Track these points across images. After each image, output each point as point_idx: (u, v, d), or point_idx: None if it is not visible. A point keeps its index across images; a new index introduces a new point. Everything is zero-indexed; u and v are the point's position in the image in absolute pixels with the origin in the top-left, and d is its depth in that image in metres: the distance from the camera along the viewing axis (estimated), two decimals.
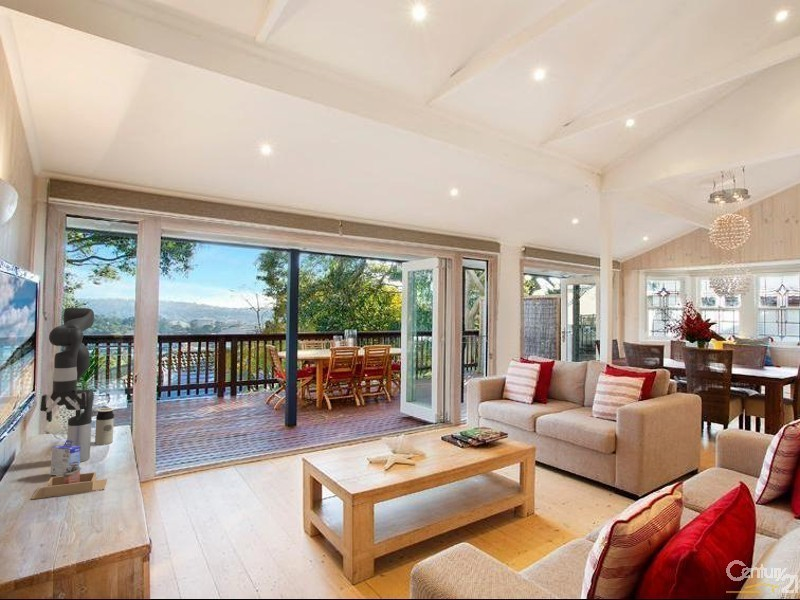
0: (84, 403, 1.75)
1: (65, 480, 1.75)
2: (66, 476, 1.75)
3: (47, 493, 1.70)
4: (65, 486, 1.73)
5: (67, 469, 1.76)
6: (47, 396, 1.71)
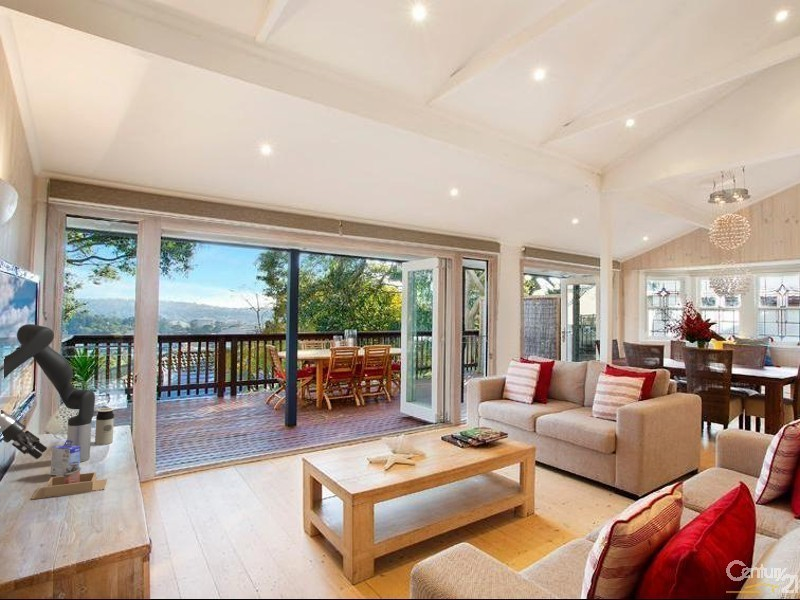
0: None
1: (65, 480, 1.75)
2: (66, 476, 1.75)
3: (47, 493, 1.70)
4: (65, 486, 1.73)
5: (67, 469, 1.76)
6: None
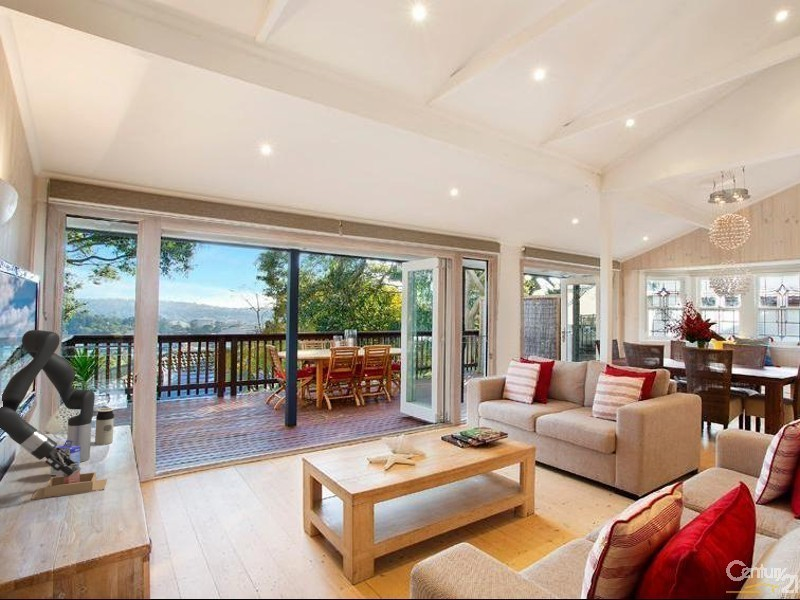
0: None
1: (65, 480, 1.75)
2: (66, 476, 1.75)
3: (47, 493, 1.70)
4: (65, 486, 1.73)
5: None
6: None
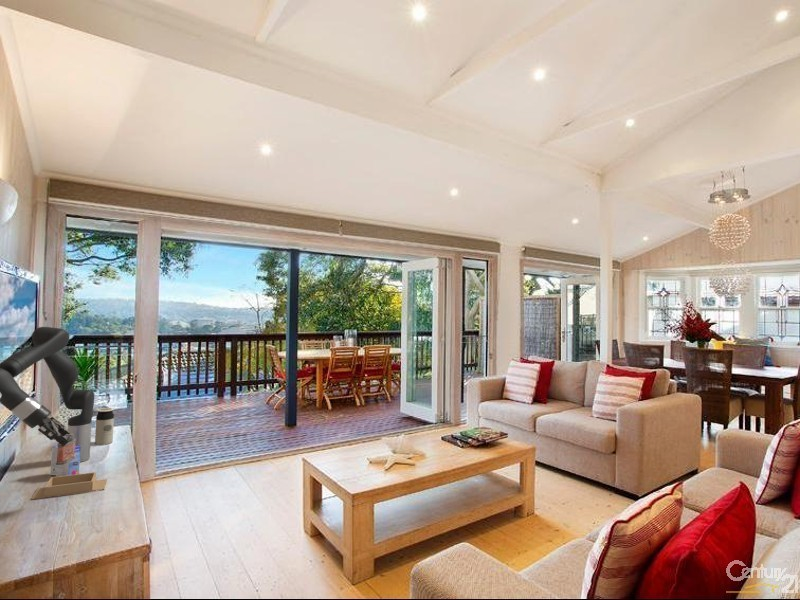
0: None
1: (59, 450, 1.63)
2: (60, 446, 1.63)
3: (47, 493, 1.70)
4: (65, 486, 1.73)
5: None
6: None
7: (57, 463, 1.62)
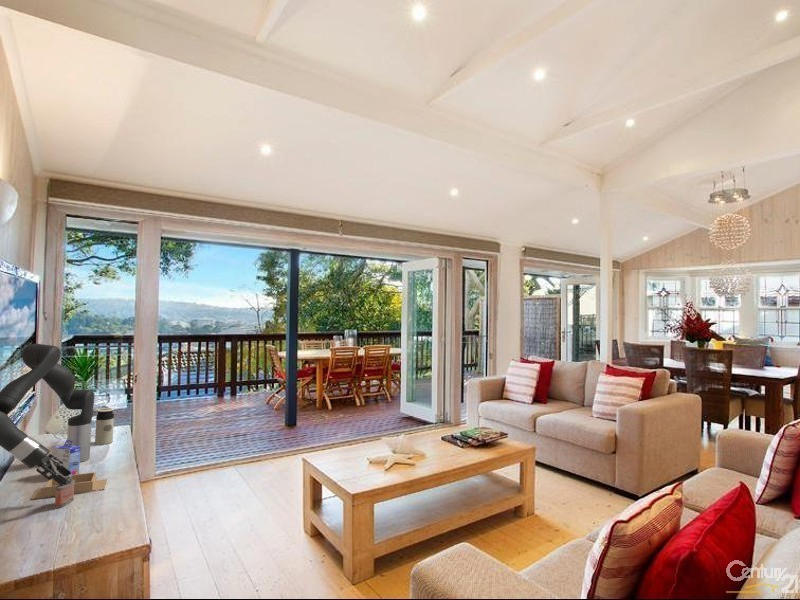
0: None
1: (57, 494, 1.62)
2: (58, 490, 1.62)
3: (47, 493, 1.70)
4: None
5: None
6: None
7: (55, 507, 1.62)
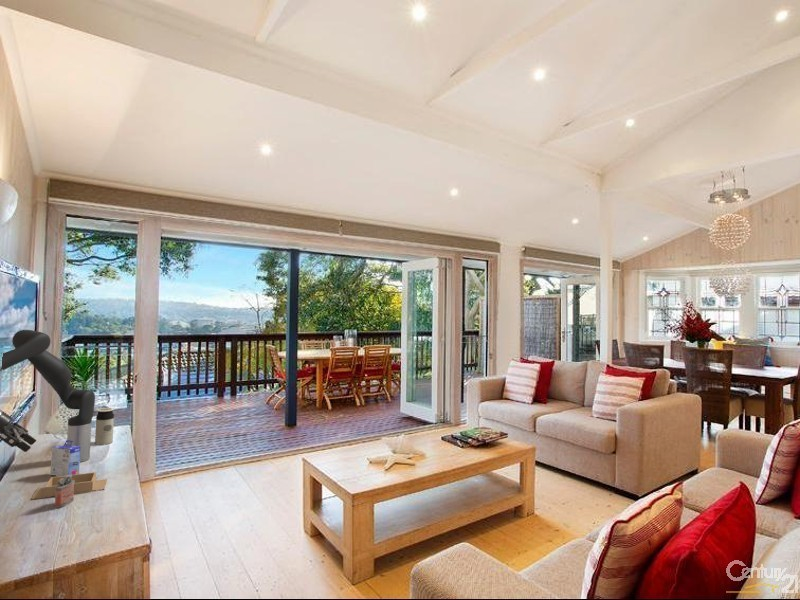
0: None
1: (57, 494, 1.62)
2: (57, 490, 1.62)
3: (47, 493, 1.70)
4: None
5: (59, 482, 1.63)
6: None
7: (55, 507, 1.62)
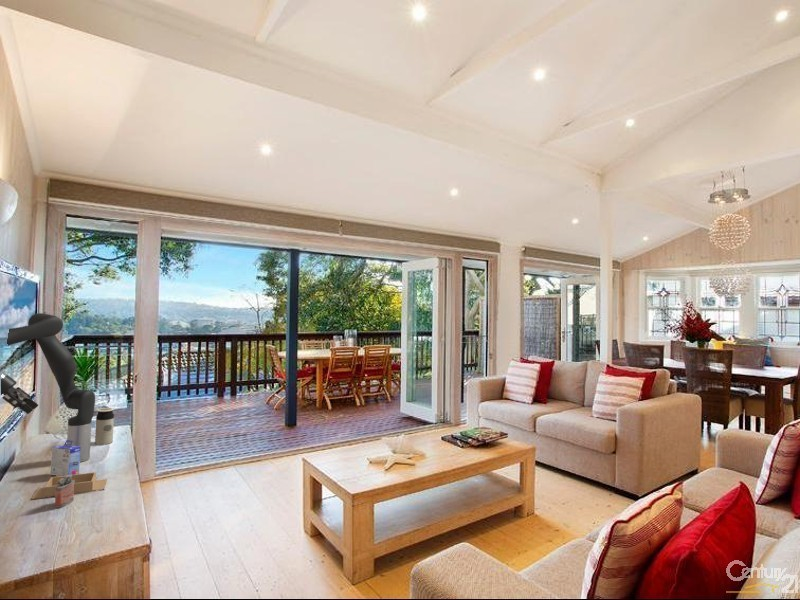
0: None
1: (57, 494, 1.62)
2: (57, 490, 1.62)
3: (47, 493, 1.70)
4: None
5: (59, 482, 1.63)
6: None
7: (55, 507, 1.62)
